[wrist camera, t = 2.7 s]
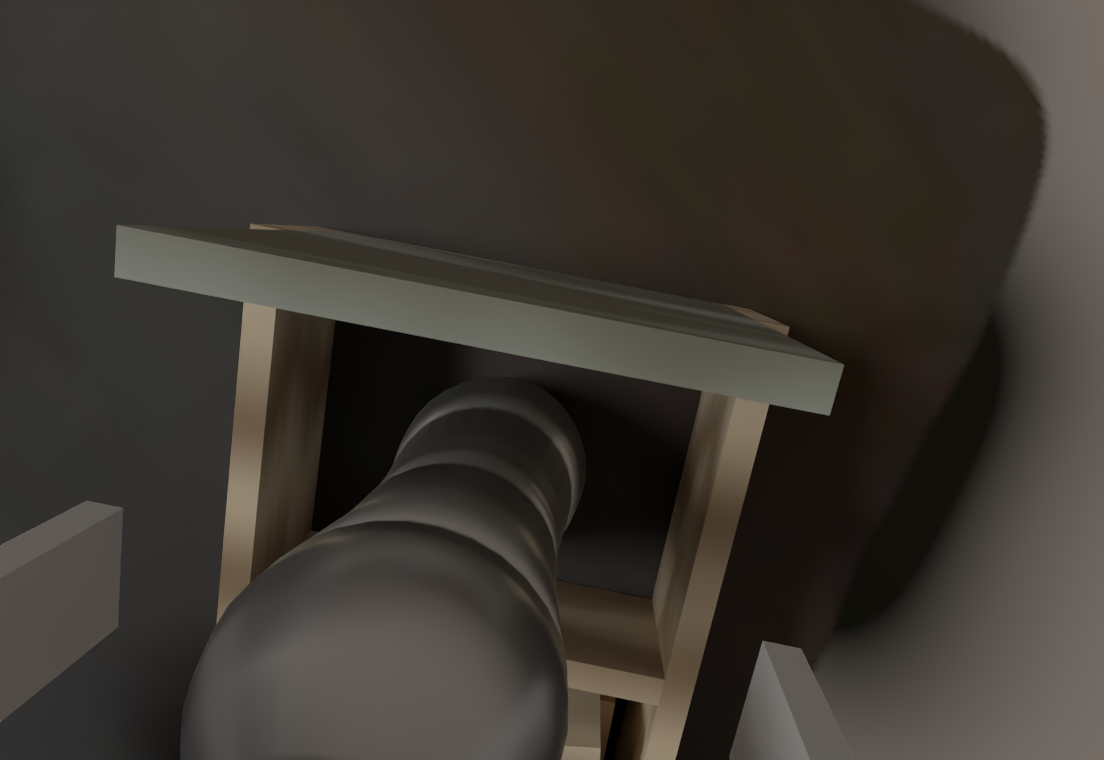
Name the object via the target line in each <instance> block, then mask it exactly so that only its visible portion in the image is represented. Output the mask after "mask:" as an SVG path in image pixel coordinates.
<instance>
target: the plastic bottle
mask: <svg viewBox="0 0 1104 760" xmlns="http://www.w3.org/2000/svg"><path fill="white" fill-rule="evenodd" d="M585 480H586V457H585V451H584V446H583V442H582V440H581V437H580V435H579V433H578V430H577V428H576V426H575V424H574V422H573V420H572V418H571V417H570V416H569V414H568V413H567V411H566V410H565V408H564V407H563V406H562V405H561V404H560V403H559V402H558V401H557V400H556V399H555V398H554V397H553V396H552V395H551V394H549V393H548V392H546V391H545V390H543V389H541V388H540V387H538V386H537V385H534V384H531V383H529V382H526V381H524V380H521V379H515V378H509V377H486V378H481V379H477V380H472V381H468V382H464V383H461V384H459V385H457V386H454V387H452V388H450V389H447V390H445V391H444V392H442V393H441V394H439V395H438V396H436V397H435V398H433V399H432V400H431V401H429V402H428V403H427V404H426V405H425V406H424V408H423V409H422V410H421V411H420V412H419V413H418V414H417V415H416V417H415V418H414V420H413V421H412V423H411V425H410V426H409V428H408V429H407V431H406V433H405V435H404V437H403V439H402V441H401V443H400V446H399V449H398V451H397V454H396V456H395V459H394V463H393V466H392V467H391V469H390V470H389V472H388V474H387V475H386V477H385V478H384V480H383V481H382V482H381V483H380V484H379V485H378V486H377V487H376V488H375V489H374V490H373V491H372V492H370V493H369V494H368V495H367V496H366V497H365V498H364V499H363V500H362V501H361V502H360V503H359V504H358V505H357V506H356V507H354V508H353V509H352V510H351V511H350V512H348V513H347V514H345V515H344V516H342V517H341V518H339V519H338V520H336V521H335V522H333V523H332V524H330V525H329V526H327V527H326V528H324V529H323V530H321V531H320V532H318V533H317V534H315V535H314V536H312V537H311V538H309V539H308V540H306V541H304V542H303V543H301V544H300V545H298V546H297V547H295V548H294V549H292V550H291V551H289V552H288V553H286V554H285V555H283V556H282V557H280V558H279V559H278V560H277V561H275V562H274V563H273V564H272V565H271V566H270V567H268V568H267V569H266V570H265V571H264V572H263V573H261V574H260V575H259V576H258V577H256V578H255V579H254V580H253V581H251V582H250V584H249V585H248V586H247V587H246V588H245V589H244V590H243V591H242V592H241V593H240V594H239V595H238V596H237V597H236V598H235V599H234V600H233V601H232V602H231V603H230V604H229V605H228V607H227V608H226V610H225V612H224V613H223V615H222V617H221V618H220V620H219V622H218V623H217V625H216V626H215V628H214V630H213V631H212V633H211V635H210V637H209V640H208V642H207V644H206V646H205V649H204V651H203V653H202V655H201V658H200V660H199V662H198V664H197V667H196V669H195V671H194V673H193V676H192V679H191V682H190V685H189V688H188V691H187V694H186V697H185V700H184V705H183V715H182V726H181V741H180V760H561V758H562V754H563V750H564V746H565V742H566V738H567V734H568V679H567V663H566V658H565V650H564V643H563V636H562V630H561V623H560V616H559V609H558V602H557V595H556V567H557V553H558V549H559V546H560V543H561V540H562V537H563V533H564V532H565V530H566V529H567V527H568V526H569V524H570V522H571V520H572V518H573V515H574V513H575V511H576V509H577V506H578V504H579V502H580V499H581V497H582V493H583V489H584V485H585Z"/></svg>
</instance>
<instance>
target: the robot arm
mask: <svg viewBox="0 0 1104 760" xmlns="http://www.w3.org/2000/svg"><path fill="white" fill-rule="evenodd" d="M122 519H123V508H120V507H115V506H110V505H106V504H101V503H96V502H91V501H85V502H83V503H81V504H79V505H77V506H75V507H73V508H72V509H70V510H68V511H66V512H64V513H62V514H60V515H58V516H56V517H54V518H52V519H50V520H48V521H46V522H44V523H42V524H40V525H39V526H37V527H35V528H33V529H31V530H29V531H27V532H25V533H23V534H21V535H19V536H17V537H15V538H13V539H11V540H9V541H7V542H6V543H4V544H2V545H0V722H1V721H2V720H4V719H5V718H6V717H7V716H8V715H10V714H11V713H12V712H13V711H15V710H16V709H17V708H18V707H20V706H21V705H22V704H23V703H25V702H26V701H27V700H28V699H30V698H31V697H32V696H33V695H34V694H36V693H37V692H38V691H39V690H41V689H42V688H43V687H44V686H46V685H47V684H48V683H49V682H51V681H52V680H53V679H54V678H55V677H57V676H58V675H59V674H60V673H62V672H63V671H64V670H65V669H67V668H68V667H69V666H70V665H72V664H73V663H74V662H75V661H76V660H78V659H79V658H80V657H81V656H83V655H84V654H85V653H86V652H88V651H89V650H90V649H91V648H93V647H94V646H95V645H96V644H97V643H99V642H100V641H101V640H102V639H104V638H105V637H106V636H107V635H109V634H110V633H111V632H112V631H114V630H115V629H116V628H117V627H118V612H119V589H120V566H121V543H122ZM729 759H730V760H855V759H854V757H853V755H852V753H851V751H850V749H849V747H848V745H847V742H846V740H845V738H844V736H843V734H842V732H841V730H840V728H839V726H838V724H837V722H836V720H835V718H834V715H833V713H832V711H831V709H830V707H829V705H828V703H827V701H826V699H825V697H824V695H823V693H822V691H821V689H820V686H819V684H818V682H817V680H816V678H815V676H814V674H813V672H812V670H811V668H810V666H809V664H808V662H807V660H806V657H805V655H804V653H803V651H802V649H801V648H796V647H791V646H786V645H781V644H776V643H772V642H767V641H762V645H761V648H760V652H759V655H758V659H757V662H756V666H755V669H754V672H753V676H752V679H751V683H750V686H749V690H748V693H747V697H746V700H745V704H744V707H743V711H742V714H741V718H740V721H739V724H738V728H737V731H736V735H735V738H734V742H733V745H732V749H731V752H730V756H729Z"/></svg>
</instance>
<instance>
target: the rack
mask: <svg viewBox="0 0 1104 760" xmlns="http://www.w3.org/2000/svg"><path fill="white" fill-rule="evenodd" d="M115 277H118V278H123V279H128V280H133V281H138V282H143V283H149V284H154V285H159V286H164V287H169V288H174V289H179V290H185V291H190V292H195V293H200V294H205V295H210V296H216V297H221V298H226V299H231V300H236V301H241V302H244V306H243V318H242V330H241V341H240V353H239V365H238V377H237V388H236V400H235V412H234V424H233V436H232V447H231V459H230V471H229V483H228V494H227V506H226V518H225V530H224V541H223V553H222V565H221V577H220V588H219V600H218V612H217V623H218V622H219V620H220V618H221V617H222V615H223V613H224V612H225V610H226V608H227V607H228V605H229V604H230V603H231V602H232V601H233V600H234V599H235V598H236V597H237V596H238V595H239V594H240V593H241V592H242V591H243V590H244V589H245V588H246V587H247V586H248V585H249V584H250V582H251V581H253V580H254V579H255V578H256V577H258V576H259V575H260V574H261V573H263V572H264V571H265V570H266V569H267V568H268V567H270V566H271V565H272V564H273V563H274V562H275V561H277V560H278V559H279V558H280V557H282V556H283V555H285V554H286V553H288V552H289V551H291V550H292V549H294V548H295V547H297V546H298V545H300V544H301V543H303V542H304V541H306V540H308V539H309V538H311V537H312V536H314V535H315V534H317V533H318V532H315V531H311V528H312V520H313V511H314V502H315V494H316V485H317V476H318V468H319V459H320V450H321V442H322V433H323V424H324V416H325V407H326V398H327V390H328V381H329V372H330V364H331V355H332V346H333V338H334V329H335V320H339V321H344V322H349V323H355V324H360V325H365V326H370V327H375V328H380V329H386V330H391V331H396V332H401V333H406V334H411V335H416V336H422V337H427V338H432V339H437V340H442V341H447V342H453V343H458V344H463V345H468V346H473V347H478V348H483V349H489V350H494V351H499V352H504V353H509V354H514V355H519V356H525V357H530V358H535V359H540V360H545V361H550V362H556V363H561V364H566V365H571V366H576V367H581V368H586V369H592V370H597V371H602V372H607V373H612V374H617V375H623V376H628V377H633V378H638V379H643V380H648V381H653V382H659V383H664V384H669V385H674V386H679V387H684V388H689V389H695V390H700V391H702V393H701V397H700V401H699V405H698V409H697V414H696V418H695V422H694V426H693V430H692V434H691V439H690V443H689V447H688V451H687V455H686V459H685V463H684V468H683V472H682V476H681V480H680V484H679V488H678V493H677V497H676V501H675V505H674V509H673V513H672V518H671V522H670V526H669V530H668V534H667V538H666V542H665V547H664V551H663V555H662V559H661V563H660V567H659V572H658V576H657V580H656V584H655V588H654V592H653V597H652V599H648V598H643V597H638V596H633V595H628V594H623V593H618V592H613V591H608V590H603V589H598V588H593V587H588V586H584V585H579V584H574V583H569V582H564V581H559V580H556V595H557V602H558V609H559V616H560V623H561V630H562V636H563V643H564V650H565V658H566V663H567V679H568V688H573V689H578V690H583V691H588V692H593V693H598V694H602V695H607V696H612V697H617V698H622V699H627V705H626V709H625V713H624V717H623V721H622V725H621V730H620V734H619V738H618V742H617V746H616V750H615V754H614V759H613V760H675V759H676V756H677V752H678V748H679V744H680V740H681V737H682V733H683V729H684V725H685V721H686V718H687V714H688V710H689V706H690V703H691V699H692V695H693V691H694V687H695V684H696V680H697V676H698V672H699V668H700V665H701V661H702V657H703V653H704V650H705V646H706V642H707V638H708V634H709V631H710V627H711V623H712V619H713V615H714V612H715V608H716V604H717V600H718V597H719V593H720V589H721V585H722V581H723V578H724V574H725V570H726V566H727V562H728V559H729V555H730V551H731V547H732V544H733V540H734V536H735V532H736V528H737V525H738V521H739V517H740V513H741V510H742V506H743V502H744V498H745V494H746V491H747V487H748V483H749V479H750V475H751V472H752V468H753V464H754V460H755V457H756V453H757V449H758V445H759V441H760V438H761V434H762V430H763V426H764V422H765V419H766V415H767V411H768V407H769V404H772V405H777V406H782V407H787V408H793V409H798V410H803V411H808V412H813V413H818V414H823V415H829V416H830V413H831V409H832V406H833V402H834V399H835V395H836V392H837V388H838V385H839V381H840V378H841V374H842V371H843V367H844V364H842V363H840V362H838V361H836V360H834V359H832V358H830V357H828V356H826V355H824V354H822V353H820V352H818V351H816V350H814V349H812V348H810V347H808V346H806V345H804V344H802V343H800V342H798V341H796V340H794V339H792V338H790V337H788V336H787V335H788V332H789V328H790V327H789V326H786V325H784V324H782V323H780V322H778V321H775V320H773V319H771V318H769V317H766V316H764V315H762V314H760V313H757V312H755V311H753V310H751V309H746V308H741V307H735V306H730V305H725V304H720V303H715V302H709V301H704V300H699V299H694V298H688V297H683V296H678V295H673V294H667V293H662V292H657V291H652V290H647V289H641V288H636V287H631V286H626V285H620V284H615V283H610V282H605V281H599V280H594V279H589V278H584V277H578V276H573V275H568V274H563V273H558V272H552V271H547V270H542V269H537V268H531V267H526V266H521V265H516V264H510V263H505V262H500V261H495V260H490V259H484V258H479V257H474V256H469V255H463V254H458V253H453V252H448V251H442V250H437V249H432V248H427V247H421V246H416V245H411V244H406V243H401V242H395V241H390V240H385V239H380V238H374V237H369V236H364V235H359V234H353V233H348V232H343V231H338V230H333V229H327V228H322V227H310V226H288V225H267V224H250V229H234V228H202V227H170V226H138V225H117V230H116V253H115ZM216 625H217V624H216Z"/></svg>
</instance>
